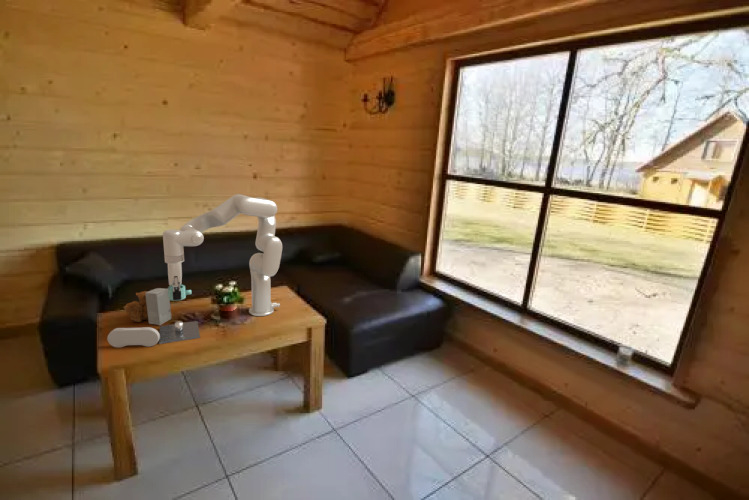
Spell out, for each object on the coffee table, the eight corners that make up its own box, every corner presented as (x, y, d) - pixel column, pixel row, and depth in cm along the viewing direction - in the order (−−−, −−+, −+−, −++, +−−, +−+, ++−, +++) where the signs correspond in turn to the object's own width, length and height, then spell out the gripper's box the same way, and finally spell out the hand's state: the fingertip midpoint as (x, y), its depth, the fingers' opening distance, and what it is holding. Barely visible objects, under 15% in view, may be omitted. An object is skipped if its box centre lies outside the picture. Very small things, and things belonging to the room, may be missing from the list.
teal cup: (168, 295, 171) (167, 285, 170) (191, 293, 176) (190, 283, 174) (168, 301, 166) (167, 290, 164) (192, 298, 170) (191, 288, 169)
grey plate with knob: (197, 322, 185) (196, 313, 184) (199, 337, 171) (199, 327, 170) (159, 328, 178) (158, 318, 176) (159, 344, 164) (158, 333, 163)
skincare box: (160, 325, 180) (157, 294, 176) (146, 323, 181) (143, 292, 177) (172, 318, 188) (170, 288, 184) (160, 316, 189) (157, 286, 185)
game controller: (161, 343, 165) (159, 326, 162) (159, 346, 162) (157, 328, 160) (110, 345, 161) (108, 327, 159) (108, 348, 159) (105, 329, 157)
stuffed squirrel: (163, 315, 191) (161, 290, 187) (137, 326, 178) (134, 300, 175) (148, 311, 194) (146, 286, 191) (122, 321, 181) (119, 296, 178)
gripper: (164, 253, 171) (167, 290, 176) (164, 264, 156) (167, 304, 161) (183, 252, 175) (185, 289, 179) (184, 263, 160) (187, 302, 164)
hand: (177, 296), depth 170 cm, fingers closed on teal cup, 6 cm apart
